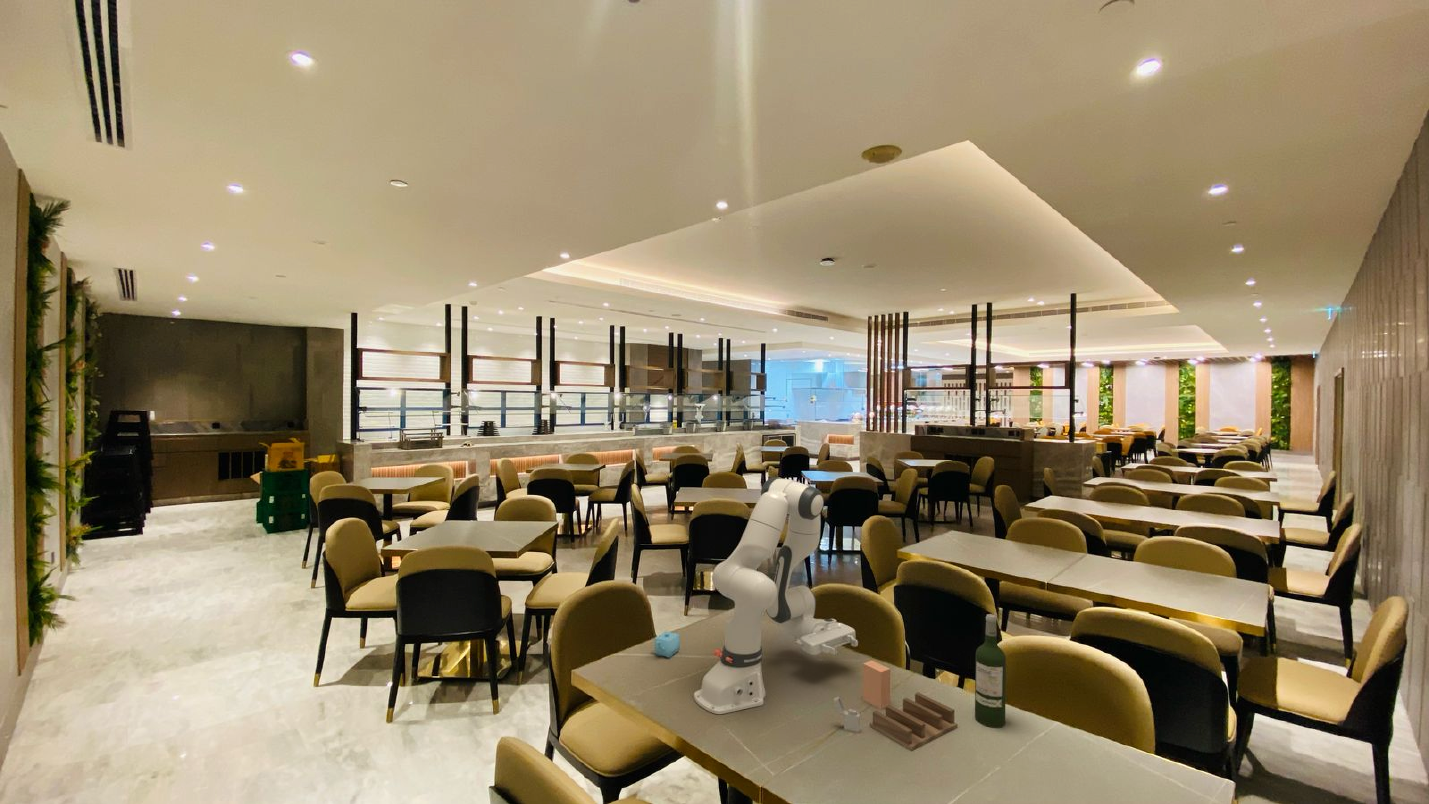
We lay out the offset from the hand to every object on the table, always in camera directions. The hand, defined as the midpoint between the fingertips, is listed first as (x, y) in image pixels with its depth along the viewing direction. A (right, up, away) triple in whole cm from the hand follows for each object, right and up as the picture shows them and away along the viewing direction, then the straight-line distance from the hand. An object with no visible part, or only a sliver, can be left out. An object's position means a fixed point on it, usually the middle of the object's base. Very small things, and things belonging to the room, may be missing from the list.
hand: (846, 647), depth 194 cm
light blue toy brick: (-59, -11, +22) cm, 64 cm away
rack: (+14, -12, -24) cm, 30 cm away
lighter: (-5, -12, -25) cm, 29 cm away
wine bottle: (+36, -13, -21) cm, 44 cm away
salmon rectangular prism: (+7, -12, -11) cm, 18 cm away
